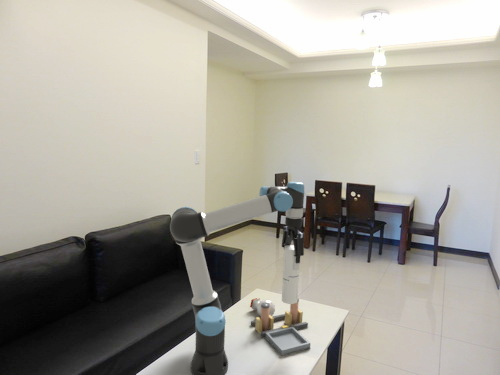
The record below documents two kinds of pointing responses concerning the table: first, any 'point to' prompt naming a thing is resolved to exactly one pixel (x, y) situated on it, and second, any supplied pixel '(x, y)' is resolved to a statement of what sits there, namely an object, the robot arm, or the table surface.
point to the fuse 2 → (294, 312)
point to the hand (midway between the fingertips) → (291, 266)
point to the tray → (287, 341)
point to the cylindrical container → (289, 277)
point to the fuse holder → (286, 316)
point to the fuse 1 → (265, 316)
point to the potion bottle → (257, 305)
